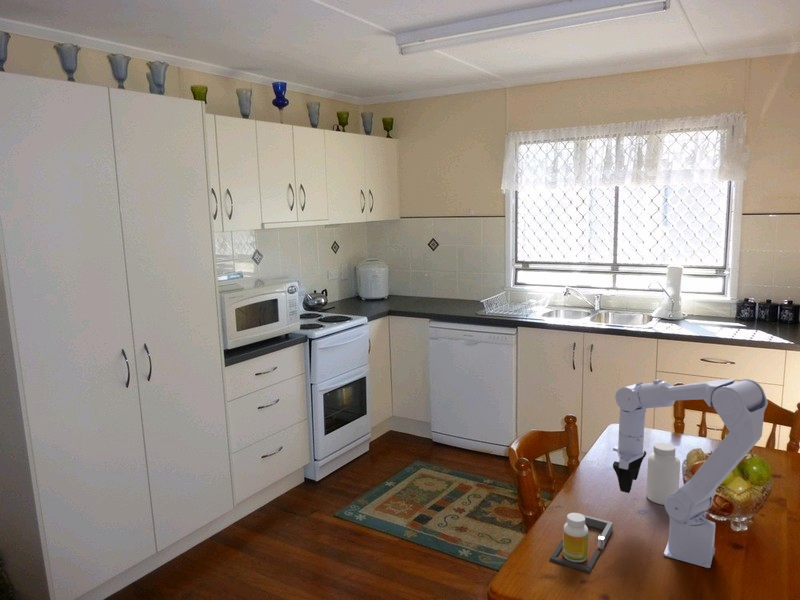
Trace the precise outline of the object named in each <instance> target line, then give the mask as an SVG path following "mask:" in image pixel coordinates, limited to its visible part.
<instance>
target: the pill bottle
mask: <svg viewBox="0 0 800 600" xmlns="http://www.w3.org/2000/svg"><path fill="white" fill-rule="evenodd" d="M680 472H681V460H680V458H679V456H677V455H676V447H675V445H673V444H671V443H669V442H656V443H654V444H653V452H651V453H650V454H649V455H648V457H647V471H646V473H647V474H646V486H645V487H646V488H645V489H646V491H645V493H646V498H648V500H649V501H651V502H652V503H655V504H658V505H663V506H665V505H664V501H665V498H666V497H667V496H668V495H669V494H672V493H675V492H677V491H678V489H679V488H680V475H681V473H680Z"/></svg>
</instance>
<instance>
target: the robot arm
mask: <svg viewBox="0 0 800 600" xmlns="http://www.w3.org/2000/svg"><path fill="white" fill-rule="evenodd" d="M736 381H737V379H734V378H728V379H714V380H707V381H701V382H693V383H686V384H679V385H673V384H672V383H670V382H669V381H666V380H665V381H664V380H663V381H662V379H661V378H660V379H658V378H657V379H654V380H652V382H648V383H643V381H640V382H636V383H633V384H630V385H627V386H624V387H620V388H618V390H617V391H616V392H615V396H614V397H615V402H616V405H617V406H618V407H619V417H618V419H619V423H618V440H617V441H618V445H614V446H613V447H612V451H613V452H616V453H617V455H618V459H619V461H616V460H615V461H614V462H613V463H612V468H613V471H614V472H615V475H616V478H617V480H618V487H619V490H620V492H622V493H626V494H627V493H628V494H630V492H631V490H632V486H633V482H634V481H637V479H638V476H639V472H640V469H641V466H642V462H643V461H644V459H645V457H646V456H647V451H646V450H644V440H645V439H644V438H645V422H646V420H645V419H646V412H647V409H654V408H656V409H657V408H666V407H667V408H669V407H672V406H673V405H674V404H675V402H676V401H692V400H693V401H695V400H696V401H697V400H703V401H704V402H705V403H706V404H707V406H708V407H709V408H711V407H713V409H714V410H715V412H716V413H717V415H718V416H719V418H720V420H721V421H722V422H723V424H724V426H725V428H727V429H726V430H728V433H727V435H725V437H724V438H723V439H722V440H721V441H720V443H719V444H718V445H717V447H716V448H715V449H714V450H713V451H712V452H711V454H710V455H709V456H708V457H707V458H706V460H705V461H704V462H703V463H702V465H700V467H699V468H698V469H697V470H696V472H695V473H694V474H693V475H692V476H691V478H690V479H689V480H688V481H687V482H686V483H684V484H682V486H679V489H678V491H677V492H675V493H672V494H669V495H668V496H667V497H666V498H665V501H664V505H663V506H664V509H665V512H666V513H667V515H668V518H669V526H668V528H669V529H668V540H667V543H666V545H665V546H666V547H665V549H664V552H663V556H664V557H666V558H670V559H675V560H678V561H682V562H685V563H689V564H692V565H697V566H699V567H702V568H703V567H704V568H706V569H710V568H711V565H712V561H713V558H714V556H715V554H716V553H715V552H716V547H715V539H716V538H715V536H716V522H714V521H712V520H709V519H707V518H706V516H707V511H708V510H709V509H710V508H711V507H712V505H713V500H714V497H715V496H716V494H717V489H718V488H719V486H721V484H723V482H724V481H725V480H726V479H727V477H728V476H729V475H730V474H731V473H732V472H733V470H735V469H736V468H737V466H738V465H739V464H740V463H741V462H742V460H743V459H744V458H745V457H746V456H747V454H749V453H750V451H751V450H752V449H753V448H754V447H755V445H756V444H757V443H758V442H759V440H761V438H762V435H763V429H764V427H763V426H764V418H765V417H764V416H765V411H766V408H767V407H768V404H769V402H768V399H767V395H766V393H765V391H764V389H763V387H762V386H761V385H760V383H758V381H755V380H753V379H749V378H744V379H743V378H742V379H740V380H738V381H737V382H736Z"/></svg>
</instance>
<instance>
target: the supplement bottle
mask: <svg viewBox="0 0 800 600" xmlns="http://www.w3.org/2000/svg"><path fill="white" fill-rule="evenodd" d="M582 514H583V513H580V512H570V513H568V514H567V515H566V522H565V523H564V525H563V536H562V540H563V548H562V555H563V557H564V559H565V560H567V561H570V562H574V563H583V562H585V561H587V559H588V551H589V550H588V548H589V547H588V544H589V528H588V525H585V517H584V516H583V515H584V514H583V515H582Z"/></svg>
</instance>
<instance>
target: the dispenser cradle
mask: <svg viewBox="0 0 800 600" xmlns="http://www.w3.org/2000/svg"><path fill="white" fill-rule="evenodd" d="M581 514H582V515H583V516H584V517H585V525H586V526H587V527H593V528H597V529H599V530H603V531H602V533H601V535H599V536H598V538H597V549H600V550H604V548H605V545H606V543H607V541H608V540H609V538H610V535H611V533H612V531H613V527H614V523H613V522H612V521H609V520H606V519H602V518H597V517H594V516H590V515H588V514H587V515H586V514H583V513H581Z"/></svg>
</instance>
